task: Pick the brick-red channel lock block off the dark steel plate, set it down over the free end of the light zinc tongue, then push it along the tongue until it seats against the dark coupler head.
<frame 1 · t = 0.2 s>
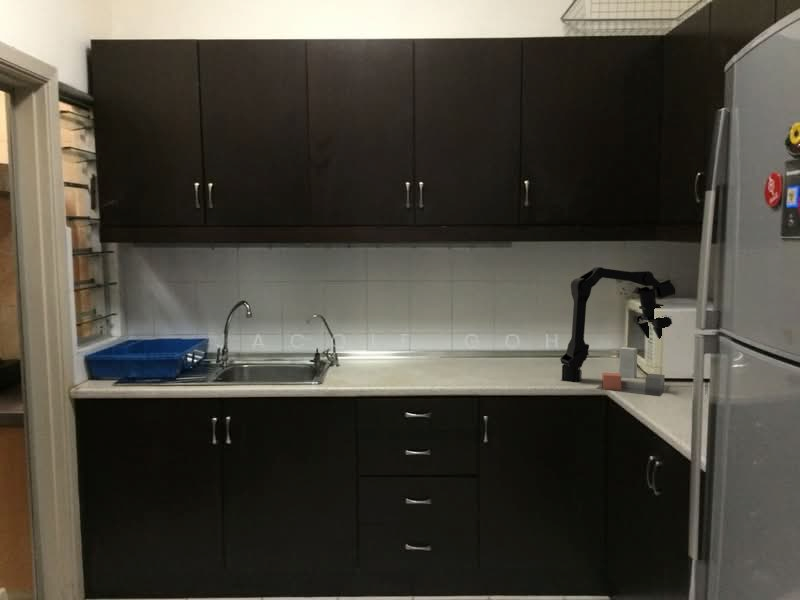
hand: (655, 341, 249), 15 cm above the counter, tool pointing down, fingers open, 9 cm apart
coupler: (632, 388, 234), on the counter
lock block: (611, 387, 233), point 1 cm above the counter, touching coupler
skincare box: (627, 378, 253), on the counter
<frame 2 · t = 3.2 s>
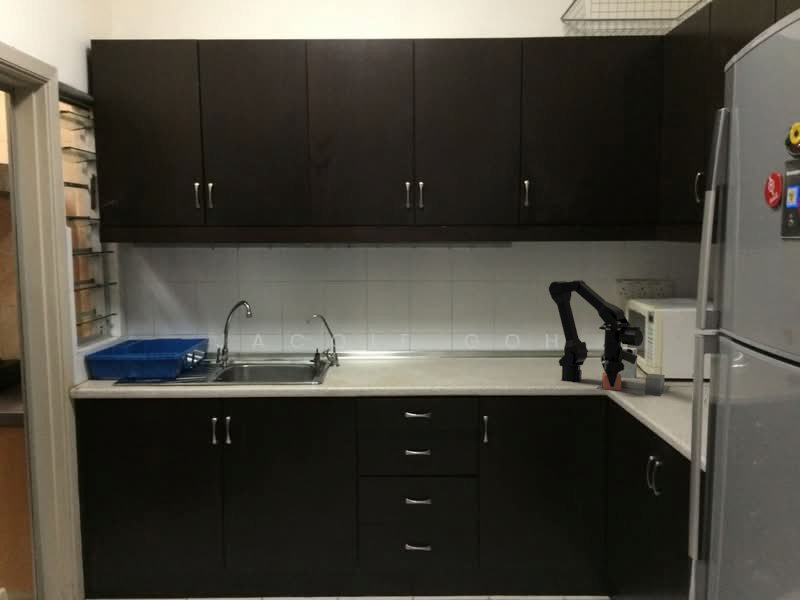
hand: (611, 385, 233), 2 cm above the counter, tool pointing down, fingers closed on lock block, 5 cm apart
lock block: (611, 387, 233), point 1 cm above the counter, touching coupler, gripper
everything else where it was.
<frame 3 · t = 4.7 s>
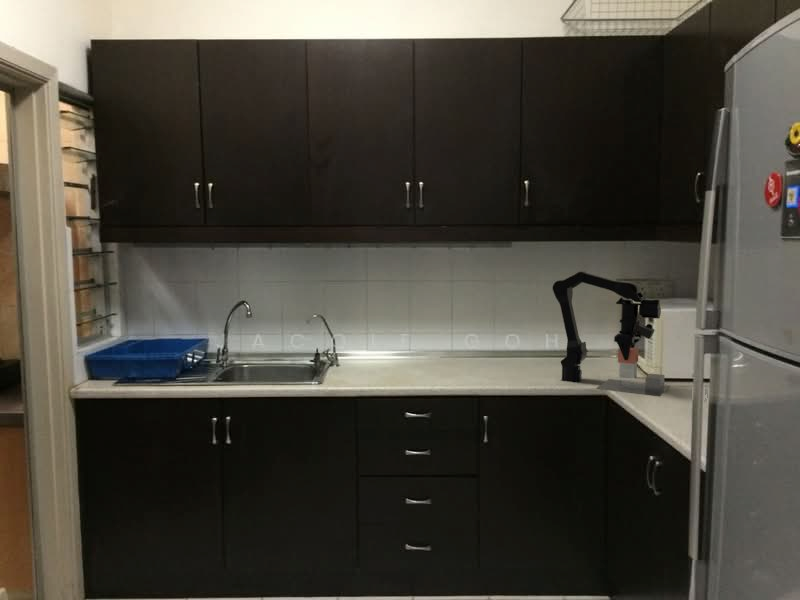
hand: (628, 359, 234), 11 cm above the counter, tool pointing down, fingers closed on lock block, 5 cm apart
lock block: (628, 362, 234), point 10 cm above the counter, touching gripper
everything else where it was.
when the fingers open (2 cm above the counter, at t = 6.6 s): lock block stays where it is, resting on coupler.
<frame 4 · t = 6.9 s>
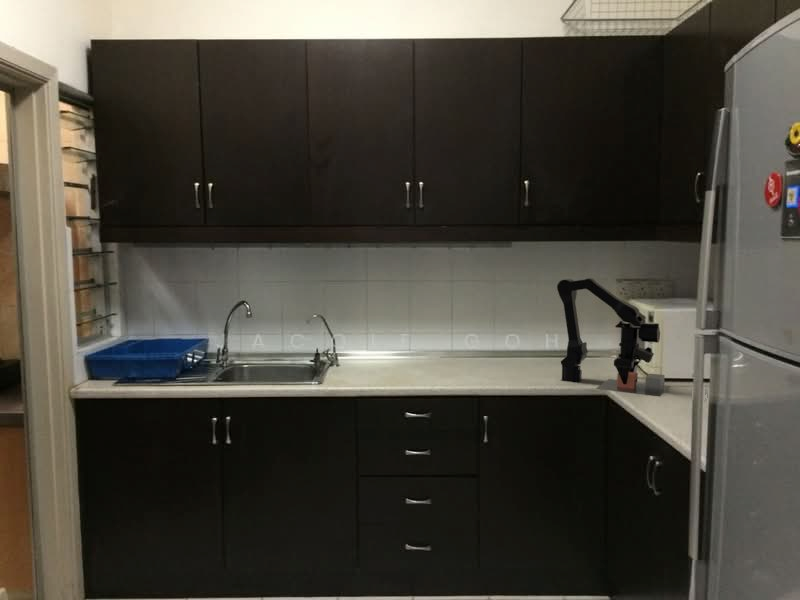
hand: (627, 382, 235), 2 cm above the counter, tool pointing down, fingers open, 8 cm apart
lock block: (627, 386, 235), point 1 cm above the counter, touching coupler
everything else where it was.
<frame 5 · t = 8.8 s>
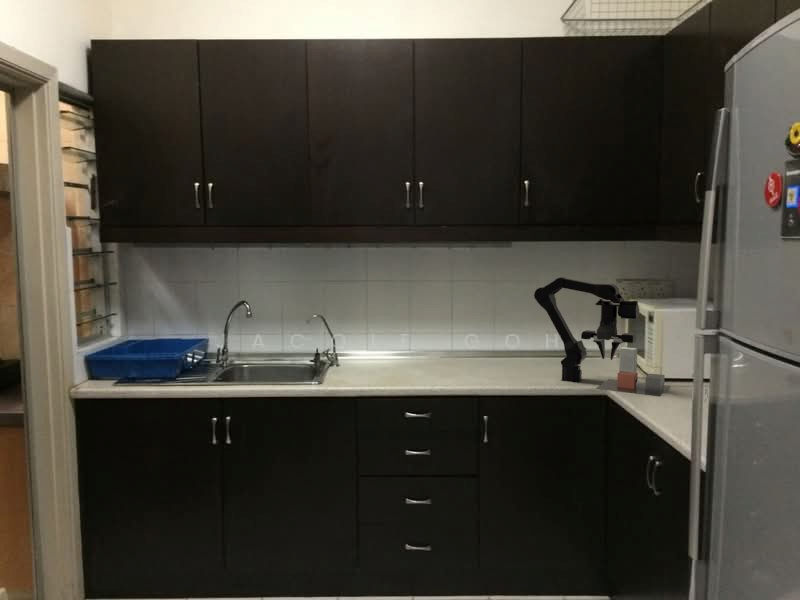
hand: (607, 359, 238), 10 cm above the counter, tool pointing down, fingers open, 3 cm apart
nothing on the counter moved.
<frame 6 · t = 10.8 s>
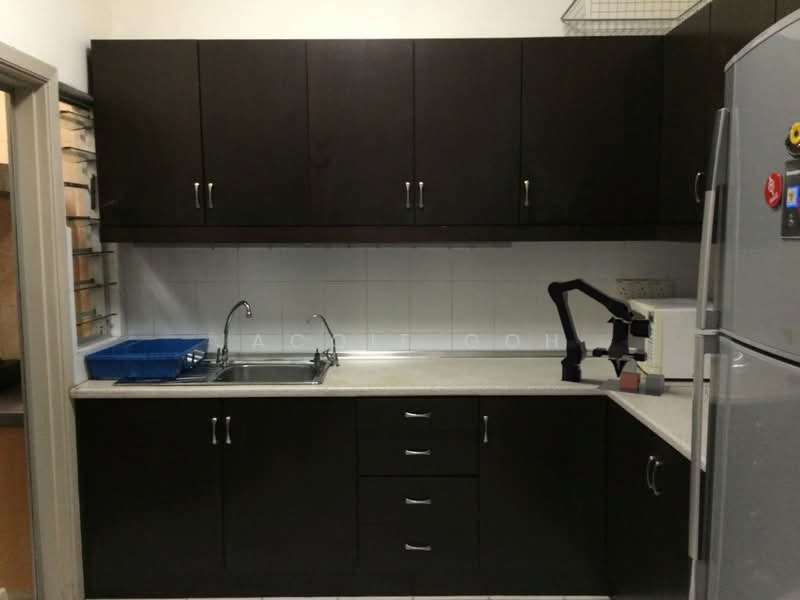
hand: (618, 377, 237), 4 cm above the counter, tool pointing down, fingers closed
lock block: (630, 386, 235), point 1 cm above the counter, touching coupler, gripper
everything else where it was.
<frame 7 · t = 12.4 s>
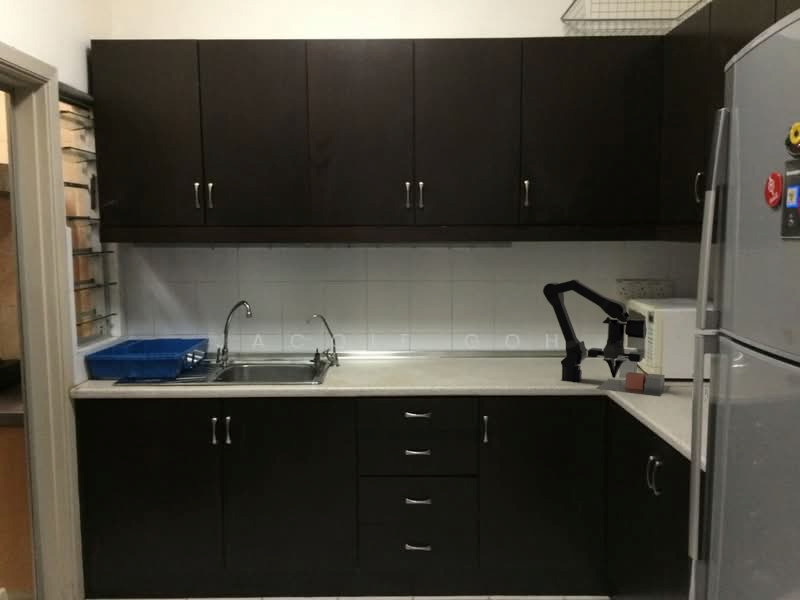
hand: (613, 377, 237), 3 cm above the counter, tool pointing down, fingers closed
lock block: (635, 387, 234), point 1 cm above the counter, touching coupler
everything else where it was.
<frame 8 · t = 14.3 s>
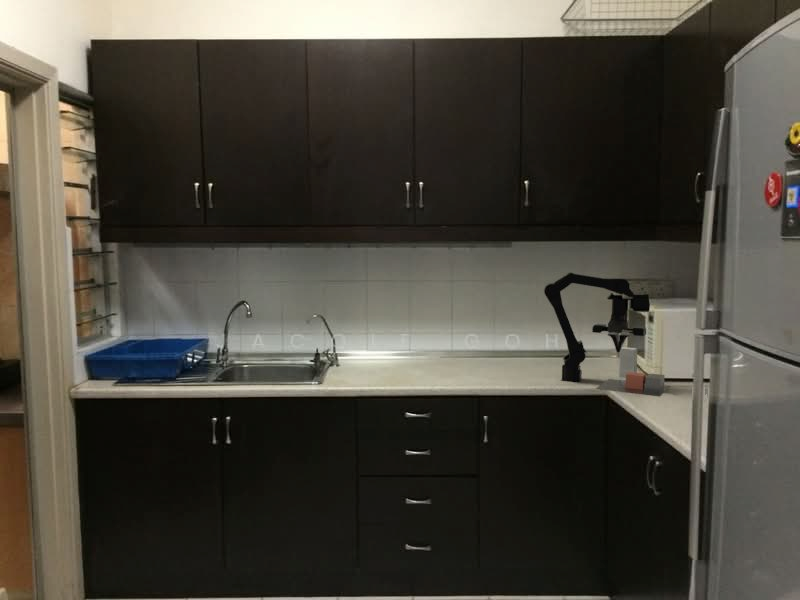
hand: (618, 352, 242), 12 cm above the counter, tool pointing down, fingers closed
nothing on the counter moved.
at the end: lock block 0.8 cm from the target spot on the coupler, point 0.6 cm above the coupler's base; lock block tilted 0°; the gripper is holding nothing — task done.
